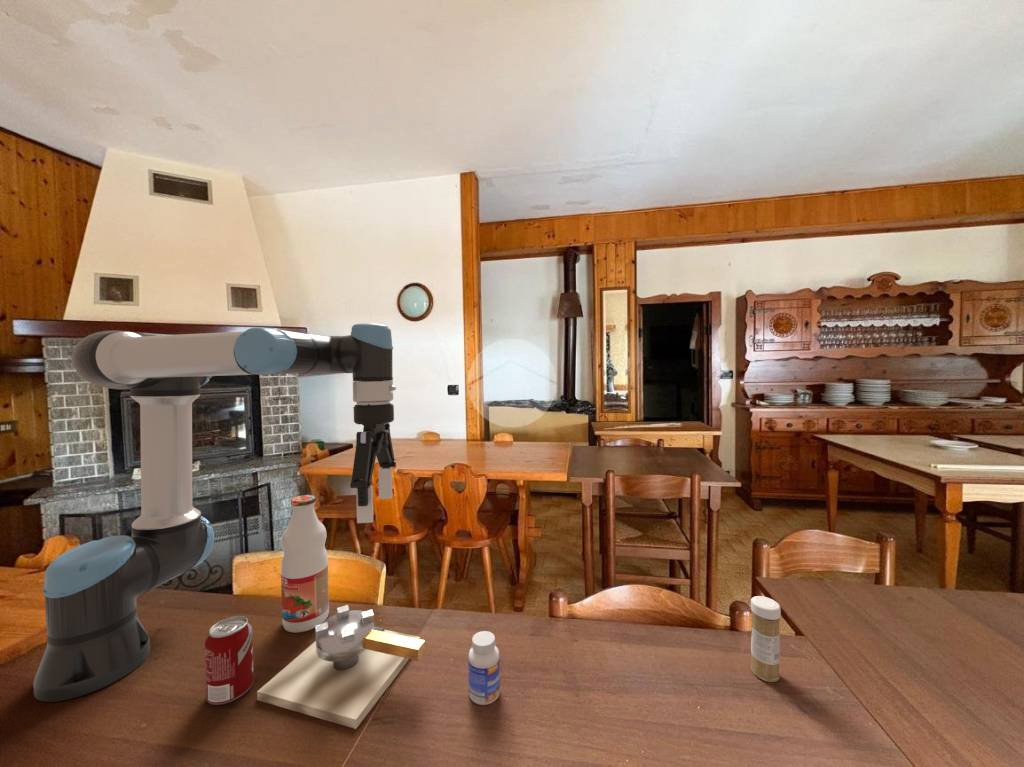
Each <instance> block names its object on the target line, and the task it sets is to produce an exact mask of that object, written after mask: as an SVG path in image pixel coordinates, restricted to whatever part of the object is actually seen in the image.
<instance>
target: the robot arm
mask: <svg viewBox="0 0 1024 767" xmlns="http://www.w3.org/2000/svg"><path fill="white" fill-rule="evenodd" d="M392 338H393V336H392V330H391V328H390V327H389V326H387V325H386V324H380V323H367V322H366V323H356V324H353V325H352V326H351V331H350V334H349V335H319V334H314V333H313V334H312V333H305V332H295V331H290V330H283V329H279V328H275V327H259V326H258V327H251V328H247V329H246V330H244V331H227V332H226V331H222V332H207V333H206V332H205V333H186V334H185V333H183V334H164V333H163V334H162V333H150V332H139V331H138V332H137V331H129V330H128V331H127V330H103V331H98V332H94V333H91V334H89V335H86V336H85V337H83V338H82V339H81V340H80V341H79V342H77V344H76V345H75V347H73V348H74V349H73V350H72V355H71V362H72V365H73V368H74V370H75V371H76V373H77V374H78V376H80V377H81V378H82V379H83V380H85V381H87V382H88V383H91V384H93V385H94V386H95V385H96V386H98V387H101V388H106V389H112V390H130V394H129V395H130V398H132V399H133V400H134V401H135V402H136V403H138V404H139V406H140V407H139V408H140V410H139V413H140V414H139V415H140V416H139V418H140V420H139V421H140V426H139V427H140V494H141V495H140V506H141V509H140V510H141V511H140V512H141V513H140V515H139V516H138V517H137V518H136V519H134V521H133V522H132V523H131V536H130V535H126V534H125V535H118V534H117V535H111V536H110V535H109V536H106V537H103V538H101V539H98V540H96V539H95V540H91V541H89V542H85V543H83V544H80V545H77V546H75V547H73V548H71V549H68V550H67V551H65V552H63V553H62V554H60V555H58V556H57V557H55V559H53V560H52V561H51V562H50V563H49V564H48V566H47V568H46V570H45V572H44V583H43V587H42V592H43V595H44V605H45V607H44V608H45V625H46V644H47V645H46V648H45V650H44V653H43V656H42V657H41V658H42V659H41V661H40V664H39V666H38V668H37V671H36V673H35V676H34V678H33V683H32V685H33V696H34V699H36V700H37V701H39V702H43V703H44V702H46V703H53V702H54V703H56V702H64V701H68V700H71V699H76V698H79V697H82V696H85V695H88V694H91V693H93V692H96V691H98V690H101V689H102V688H105V687H107V686H109V685H111V684H114V683H115V682H117V681H119V680H120V679H123V678H124V677H126V676H127V675H129V674H130V673H132V672H133V671H135V670H136V669H137V668H139V666H140V665H142V664H143V663H144V662H145V661H146V659H147V658H148V657H149V655H150V653H151V639H150V636H149V635H148V632H147V631H146V629H145V627H144V625H143V623H142V622H141V620H140V619H139V616H138V612H137V611H138V610H137V607H138V606H137V598H138V597H139V596H141V595H143V594H145V593H147V592H149V591H151V590H153V589H155V588H157V587H159V586H161V585H163V584H165V583H166V582H170V581H171V580H172V579H175V578H177V577H179V576H183V575H184V574H186V573H188V572H190V571H191V570H193V569H194V568H196V567H197V566H199V565H201V564H202V563H203V562H204V561H205V560H206V559H208V557H209V556H210V554H211V552H212V550H213V547H214V544H215V532H214V529H213V526H212V525H210V524H211V522H210V521H209V520H208V519H207V518H206V517H204V516H202V512H201V510H199V509H198V508H196V507H194V505H193V403H194V401H195V400H197V399H198V398H199V397H200V396H201V387H203V386H204V385H206V384H207V383H208V382H210V379H211V378H212V377H216V376H219V377H221V376H248V375H251V376H254V375H257V376H270V375H292V374H293V375H294V374H297V375H302V374H303V375H325V374H328V375H329V374H331V375H332V374H352V402H354V403H356V404H354V406H353V422H354V423H355V424H356V425H362V426H363V428H362V429H363V430H362V431H357V432H356V437H355V438H356V439H355V440H356V441H355V442H356V445H355V452H354V458H353V468H352V473H351V474H352V475H351V481H350V485H349V486H350V489H355V493H356V494H355V496H356V498H355V500H356V524H369V523H370V524H372V523H373V522H374V496H373V495H374V492H373V487H374V486H373V485H372V478H373V473H374V468H375V464H376V459H377V462H378V465H379V468H378V469H377V471H378V477H377V478H378V499H379V500H386V499H387V500H388V499H389V500H391V499H393V494H394V493H393V468H396V466H397V462H396V461H395V460H396V458H395V455H394V448H393V442H392V436H391V428H390V427H391V425H390V423H392V422H393V421H395V410H394V409H395V406H394V404H393V403H391V401H393V400H394V391H396V390H397V386H396V385H393V384H394V382H393V381H394V376H393V350H394V347H393V339H392Z"/></svg>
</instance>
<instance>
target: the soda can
mask: <svg viewBox="0 0 1024 767" xmlns="http://www.w3.org/2000/svg"><path fill="white" fill-rule="evenodd" d="M253 646H254V643H253V626H252V625H251V624H250V623H249V621H248V618H247V616H243V615H234V616H230V617H227V618H225V619H222V620H219V621H218V622H216V623H215V624H214V625H212V626H211V627H210V629H209V631H208V636H207V637H206V639H205V641H204V662H205V663H204V667H205V668H204V670H205V692H206V693H205V695H206V701H207V702H208V703H209V704H210V705H214V706H218V705H225V704H229V703H232V702H234V701H236V700H237V699H239V698H241V697H242V696H244V695H245V694H246V693H247V692H248V691H249V690H250V689H251V688H252V686H253V685H254V681H255V679H254V678H255V677H254V676H255V675H254V673H255V672H254V650H253V649H254V647H253Z"/></svg>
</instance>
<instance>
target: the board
mask: <svg viewBox="0 0 1024 767" xmlns="http://www.w3.org/2000/svg"><path fill="white" fill-rule="evenodd" d="M374 630H377V631H381V632H386V633H391V634H396V635H401V636H406V637H411V638H415V639H420V640H421V636H417V635H412V634H408V633H404V632H403V633H402V632H397V631H394V630H388V629H385V627H379V626H376V625H374ZM409 660H410V659H408V658H403V657H399V656H394V655H390V654H385V653H381V652H376V651H372V650H368V649H366V650H365V651H363V652H362V653H360V654H359V655H357V656H355V657H352V658H350V659H347V660H343V661H334V662H332V661H325V660H323V659H321V658H319V657H318V655H317V653H316V640H315V641H313V643H312V644H310V645H309V646H308V647H307V648H305V649H304V650H303V651H302V652H301V653H299V654H298V655H297V657H295V658H293V660H291V661H290V662H289V663H288V664H287V665H286V666H285V667H284V668H282V669H281V670H280V671H279V672H278V673H276V674H275V675H274V676H273V677H272V678H271V679H269V681H268V682H266V683H265V684H264V685H262V686H261V688H259V689H258V690H257V691H256V697H257V701H259V702H263V703H266V704H270V705H273V706H277V707H280V708H282V709H287V710H290V711H293V712H297V713H300V714H304V715H307V716H311V717H314V718H317V719H321V720H323V721H328V722H331V723H335V724H337V725H341V726H343V727H348V728H351V729H354V730H356V729H357V728H358V727H359V726H360V725H361V723H362V722H363V721H364V719H365V718H366V717H367V715H368V714H369V713H370V711H371V710H372V709H373V708H374V706H375V705H376V703H377V702H378V701H379V700H380V699H381V697H382V696H383V694H384V693H385V691H386V690H387V689H388V688H389V686H390V685H391V684H392V683H393V681H394V680H395V679H396V677H397V676H398V674H399V673H400V672H401V671H402V669H403V668H404V666H406V664H407V663H408V661H409Z"/></svg>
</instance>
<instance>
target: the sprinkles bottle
mask: <svg viewBox="0 0 1024 767" xmlns="http://www.w3.org/2000/svg"><path fill="white" fill-rule="evenodd" d="M781 609H782V608H781V606H780V604H779V602H778V601H775V600H774V599H772V598H770V597H767V596H762V595H757V596H753V597H752V598H751V599H750V610H751V636H750V642H751V643H750V652H751V663H750V669H751V671H752V673H753V674H754V676H756V677H757V678H758V679H760V680H762V681H765V682H767V683H776V682H778V681H779V680H780V661H781V660H780V658H781V655H780V652H781V651H780V647H781V646H780V645H781V640H780V639H781V633H780V619H781V615H782V614H781Z"/></svg>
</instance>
